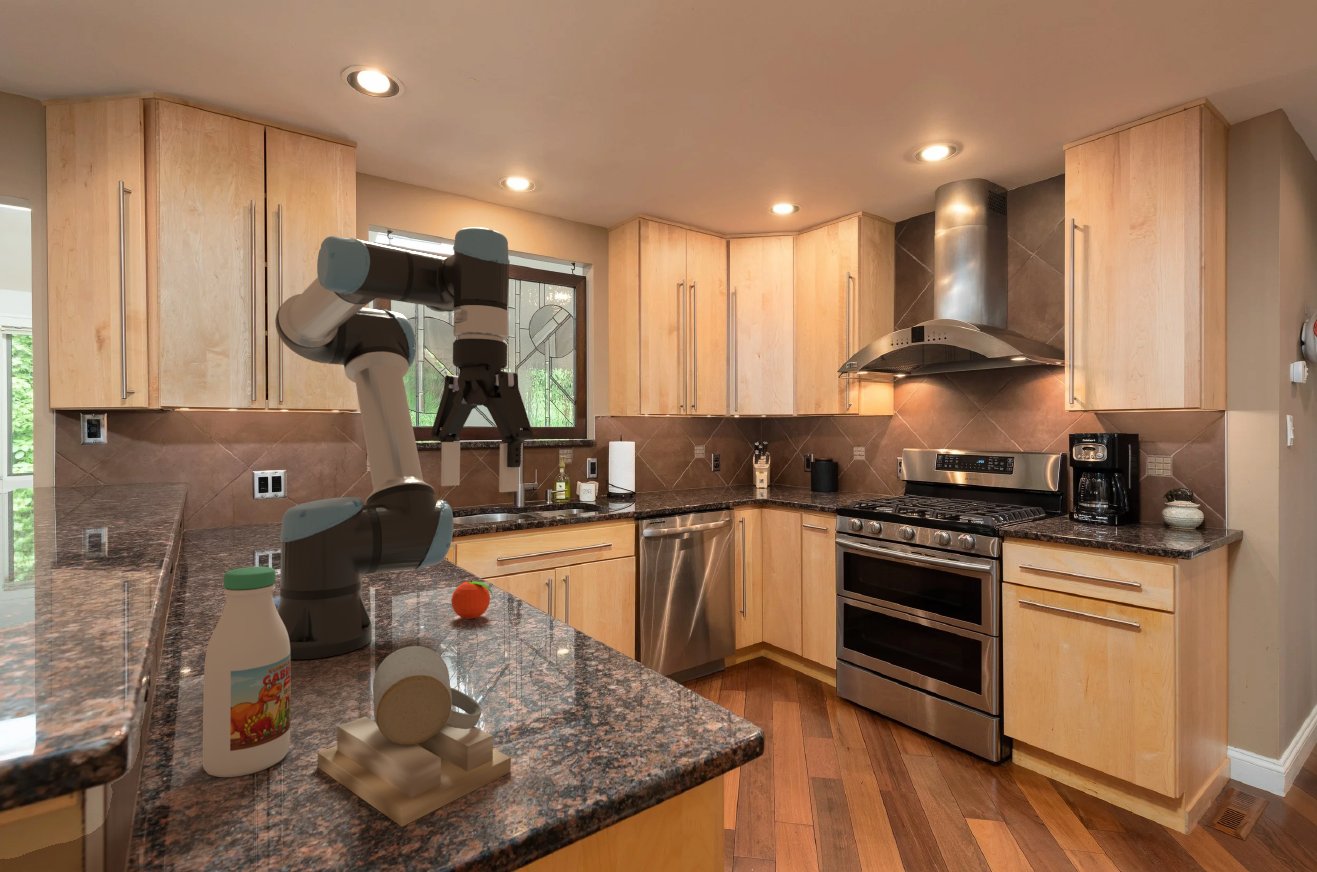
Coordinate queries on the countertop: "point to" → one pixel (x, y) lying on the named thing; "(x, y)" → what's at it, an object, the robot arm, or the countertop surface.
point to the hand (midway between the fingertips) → (478, 488)
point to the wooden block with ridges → (412, 767)
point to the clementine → (471, 599)
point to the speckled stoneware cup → (418, 697)
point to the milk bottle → (247, 679)
